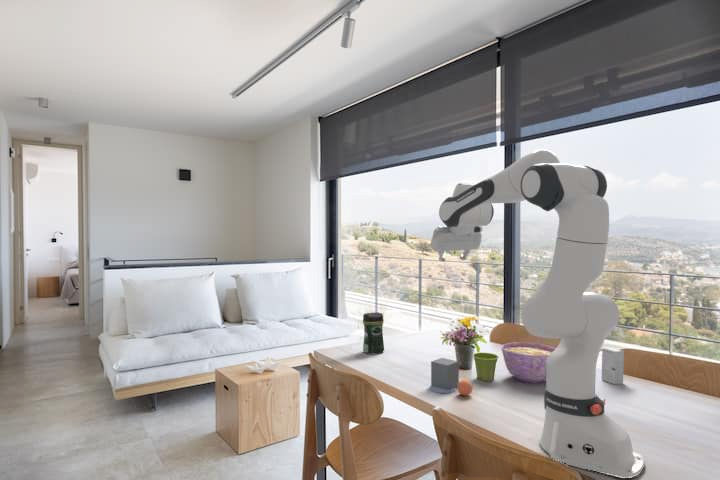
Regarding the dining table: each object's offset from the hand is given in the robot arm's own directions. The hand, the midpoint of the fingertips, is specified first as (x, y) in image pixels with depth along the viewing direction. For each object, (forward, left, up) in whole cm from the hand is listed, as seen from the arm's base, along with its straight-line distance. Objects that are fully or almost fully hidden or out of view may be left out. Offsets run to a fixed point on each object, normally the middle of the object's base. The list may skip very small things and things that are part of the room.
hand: (452, 260), depth 162 cm
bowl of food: (-20, -21, -45) cm, 54 cm away
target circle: (-3, +11, -45) cm, 46 cm away
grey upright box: (-2, +8, -45) cm, 46 cm away
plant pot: (-8, -10, -45) cm, 47 cm away
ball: (-12, +11, -42) cm, 46 cm away
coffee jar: (+49, -8, -45) cm, 67 cm away
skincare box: (-43, -40, -45) cm, 74 cm away
